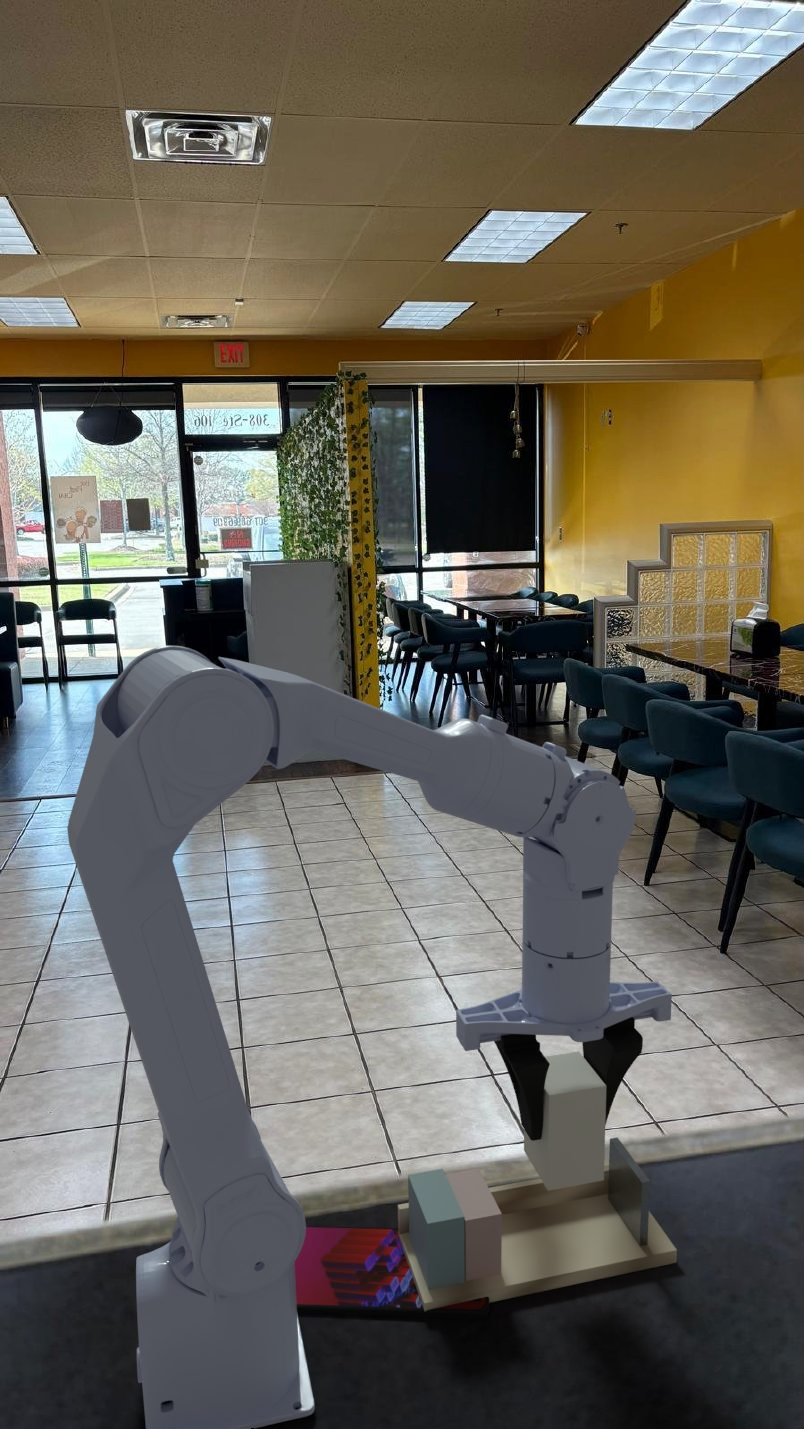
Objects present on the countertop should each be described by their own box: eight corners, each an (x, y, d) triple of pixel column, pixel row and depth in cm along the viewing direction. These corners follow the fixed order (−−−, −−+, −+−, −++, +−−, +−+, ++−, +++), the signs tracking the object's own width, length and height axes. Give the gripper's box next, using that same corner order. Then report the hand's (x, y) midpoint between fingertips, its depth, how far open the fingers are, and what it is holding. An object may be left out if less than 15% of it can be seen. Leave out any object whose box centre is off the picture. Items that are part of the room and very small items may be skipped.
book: (547, 1190, 67) (549, 1095, 66) (523, 1150, 71) (524, 1059, 70) (603, 1179, 68) (606, 1085, 67) (576, 1140, 72) (578, 1051, 71)
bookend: (639, 1246, 70) (641, 1182, 69) (608, 1198, 75) (609, 1138, 74) (647, 1244, 70) (650, 1180, 69) (615, 1197, 75) (617, 1137, 74)
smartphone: (280, 1223, 74) (487, 1228, 73) (281, 1233, 74) (487, 1238, 73) (259, 1306, 66) (489, 1313, 65) (259, 1318, 67) (489, 1325, 66)
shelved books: (428, 1290, 67) (427, 1223, 66) (409, 1237, 72) (408, 1174, 70) (501, 1274, 68) (502, 1209, 67) (478, 1224, 73) (478, 1162, 72)
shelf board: (424, 1316, 66) (423, 1276, 65) (398, 1241, 73) (397, 1204, 72) (676, 1262, 70) (678, 1224, 70) (630, 1196, 77) (631, 1161, 76)
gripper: (479, 981, 61) (480, 1181, 64) (698, 952, 64) (689, 1143, 67) (446, 933, 67) (447, 1116, 70) (646, 909, 71) (639, 1084, 74)
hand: (562, 1125), depth 69 cm, fingers closed on book, 4 cm apart
